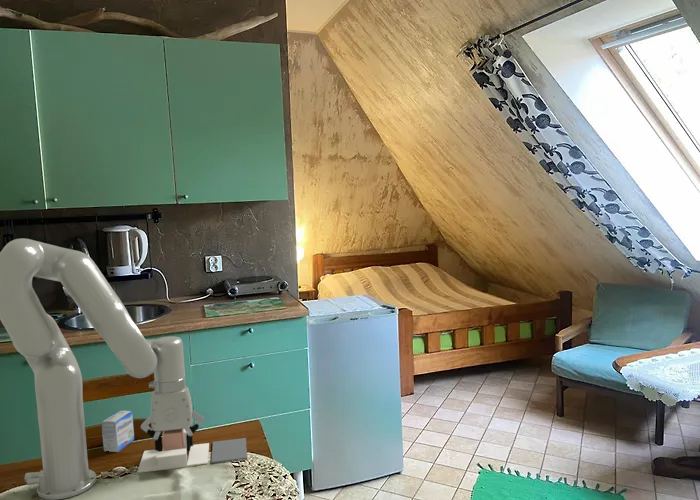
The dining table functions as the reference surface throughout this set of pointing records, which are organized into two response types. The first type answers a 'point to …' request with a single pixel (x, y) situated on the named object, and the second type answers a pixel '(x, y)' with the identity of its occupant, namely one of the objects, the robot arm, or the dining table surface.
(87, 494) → the dining table surface
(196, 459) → the carton
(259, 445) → the dining table surface
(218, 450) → the mat
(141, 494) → the dining table surface
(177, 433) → the box
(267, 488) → the dining table surface
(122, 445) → the medicine box
